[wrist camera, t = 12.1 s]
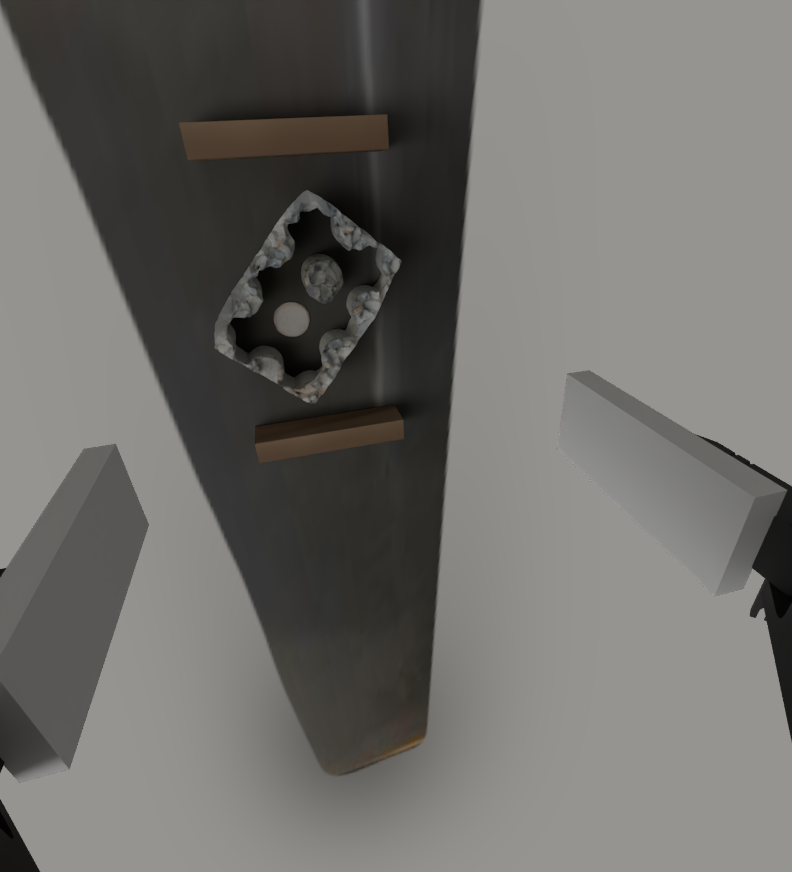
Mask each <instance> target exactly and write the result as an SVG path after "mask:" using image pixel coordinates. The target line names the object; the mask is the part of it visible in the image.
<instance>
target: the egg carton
mask: <svg viewBox="0 0 792 872" xmlns="http://www.w3.org/2000/svg"><path fill="white" fill-rule="evenodd" d="M315 208H318V209H319V210H320V211H321V212H322V213H323V214H324V215H326V216H328V217H331V223H330V224H331V231H332V234H333V236H334V237H335V239H336V240H337V241H338V242H339V243H340V244H341V245H342V246H343V247H344V248H346V249H347V250H349V251H350V250H351V249H357V250H362V249H364V248H365V247H366V246H368V245H370V246H372V247H374V248H377V247H378V248H377V252H376V264H377V267H378V269H379V270H380V272H381V276H380V278H379V280H378V281H377V283H376V284H375V285H374V286H373V287H371V286H368V285H361V286H357V287H355V288H354V289H353V290H352V291H351V292H350V293H349V295H348V298H347V309H348V311H349V313H350V315H351V319H350V321H349V323H348V326H347V328H346V330H345V331H344V330H342V329H333V330H330V331H328V332H326V333H325V334H324V335H323V336H322V338H321V340H320V344H319V349H320V353H321V356H322V358H321V361H322V366H321V368H320V369H319V370H317V371H313V370H308V371H304V372H302V373H300V374H299V375H297V376H296V377H291V376H290V375H288V374H286V373H284V363H283V357H282V355H281V354H280V352H279V351H278V350H276V349H275V348H273V347H269V346H259V347H256V348H255V349H253V350H252V351H251V352H250V353H247V352H245V351H244V350H242V349H241V348H239V347H238V346H237V345H236V333H235V330H234V328H233V327H232V326H231V325H230V324H229V323H230V322H231V320H232V319H233V318H238V317H239V318H246V317H251V316H252V315H254V314H255V313H256V312H257V311H258V310H259V308H260V306H261V304H262V302H264V301H263V297H262V287H261V284H260V282H259V280H258V279H257V278H256V276H258V272H259V270H264V269H265V268H266V267H274V268H279V267H281V266H282V265H283V264H284V263H285V262H286V261H288V260H289V259H290V258H292V256H293V253H294V250H295V242H294V239H293V238H292V236H291V235H290V233H289V231H288V228H287V226H288V224H292V223H297V222H298V221H299V219H300V216H299V214H300V212H309V211H312V210H314V209H315ZM337 263H338V262H337ZM337 263H336V262H335V260H334V259H332V258H331V257H329V256H327V255H324V254H314V255H311V256H309V257H308V258H306V260H305V261H304V262H303V264H302V268H301V277H302V281H303V284H304V286H305V288H306V291H307V292H308V294H309V295H310V296H311V297H312V298H314V299H316V300H317V301H319V302H321V303H323V304H328V303H330V302H332V301H333V300H334V297H335V295H336V294H337V293H338V291H339V290H340V289H341V288H342V285H343V276H342V272H341V269H340V267H339V266H338V265H337ZM400 264H401V260H400V259H399V258H397V257H396V256H395V255H394V254H393V253H392V252H391V251H390V250H389V249H388V248H386V247H385V246H384V245H382V244H381V243H378V242H377V241H375V240H374V239H373V238H372V237H371V236H370V235H369V234H368V233H367V232H366V231H364V230H363V229H361V228H359V227H358V226H357V225H356V224H355V223H354V222H352V221H351V220H350V219H348V218H347V217H346V216H344V215H343V214H342V213H341V212H340V211H339V210H338V209H337V208H336V207H334V206H333V205H332V204H330V203H329V202H327V201H325V200H324V199H322V198H321V197H319V196H317V195H315V194H313V193H312V192H310V191H308V190H306V191H304V192H303V193H302V194H301V195H300V196H299V197H298V198H297V199H296V200H295V201H294V202H293V203H292V204H291V205H290V207H288V209H287V210H286V212H285V213H284V214H283V216H282V217H281V218H280V219H279V221H278V222H277V224H276V225H275V227H274V228H273V230H272V232H271V234H270V235H269V236H268V237H267V239H266V240H265V242H264V244H263V247H262V248H261V250H260V251H259V253H258V254H257V255H256V256H255V258H254V259H253V260H252V262H251V264H250V266H249V267H248V269H247V270H246V272H245V273H244V275H243V276H242V278H241V279H240V281H239V282H238V284H237V285H236V287H235V288H234V289H233V291H232V292H231V294H230V296H229V297H228V299H227V301H226V303H225V305H224V307H223V309H222V311H221V312H220V314H219V317H218V319H217V321H216V324H215V330H214V331H215V349H216V350H218V351H219V352H221V353H223V354H224V355H226V356H227V357H229V358H231V359H232V360H235V361H237V362H239V363H241V364H242V365H244V366H246V367H247V368H249V369H250V370H252V371H254V372H255V373H258V374H261V375H263V376H265V377H266V378H268V379H270V380H272V381H273V382H275V383H277V384H278V385H279V386H281V387H282V388H284V389H285V390H287V391H288V392H290V393H291V394H293V395H295V396H297V397H299V398H301V399H302V400H304V401H305V402H307V403H309V404H310V405H314V404H315V403H316V402H317V400H318V399H319V397H320V396H322V395H323V393H324V392H325V391H326V389H327V387H328V386H329V384H330V383H331V382H332V381H333V379H334V378H335V376H336V375H337V373H338V371H339V370H340V369H341V366H342V363H343V362H344V360H345V359H346V357H347V356H348V355H349V354H350V352H351V351H352V350H353V349H354V348H355V346H356V345H357V342H358V340H359V339H360V338H361V336H362V335H363V334H364V332H365V331H366V329H367V328H368V326H369V325H370V324H371V322H372V321H373V320H374V319H375V317H376V315H377V313H378V311H379V308H380V306H381V304H382V302H383V300H384V297H385V295H386V292H387V290H388V289H389V286H390V284H391V281H392V278H393V276H394V274H395V273H396V272H397V271H398V269H399V267H400ZM259 265H260V268H259V269H258V266H259ZM340 265H341V264H340ZM274 323H275V326H276V329H277V330H278V331H279V332H280V333H282V334H283V335H285V336H291V337H296V336H299V335H301V334H303V333H304V332H305V331H306V330H307V328H308V326H309V323H310V317H309V313H308V311H307V309H306V308H305V307H304V306H303V305H302V304H300V303H297V302H286V303H283V304H282V305H280V306H279V307H278V308H277V309H276V311H275V314H274Z"/></svg>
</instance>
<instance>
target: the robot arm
mask: <svg viewBox="0 0 792 872" xmlns="http://www.w3.org/2000/svg"><path fill="white" fill-rule="evenodd" d="M557 449H558V450H559V451H560V452H561V453H562V454H563V455H564V456H565V457H566V458H567V459H568V460H570V461H571V462H572V463H573V464H574V465H575V466H576V467H577V468H578V469H579V470H580V471H581V472H582V473H583V474H585V476H587V477H588V478H589V479H590V480H591V481H592V482H593V483H594V484H595V485H596V486H597V487H598V488H599V489H600V490H601V491H603V492H604V493H605V494H606V495H607V496H608V497H609V498H610V499H611V500H612V501H613V502H614V503H615V504H616V505H617V506H619V507H620V508H621V509H622V510H623V511H624V512H625V513H626V514H627V515H628V516H629V517H630V518H631V519H632V520H633V521H635V522H636V523H637V524H638V525H639V526H640V527H641V528H642V529H643V530H644V531H645V532H646V533H647V534H648V535H650V536H651V537H652V538H653V539H654V540H655V541H656V542H657V543H658V544H659V545H660V546H661V547H662V548H663V549H665V550H666V551H667V552H668V553H669V554H670V555H671V556H672V557H673V558H674V559H675V560H676V561H677V562H678V563H680V565H681V566H683V567H684V568H685V569H686V570H687V571H688V572H689V573H690V574H691V575H692V576H693V577H694V578H695V579H696V580H697V581H699V582H700V583H701V584H702V585H703V586H704V587H705V588H706V589H707V590H708V591H709V592H710V593H711V594H713V596H718V595H722V594H726V593H729V592H733V591H737V590H741V589H743V588H744V586H745V584H746V582H747V579H748V577H749V575H750V573H751V570H752V568H753V569H754V570H756V571H757V572H758V573H759V574H761V575H762V576H763V577H764V578H765V580H764V582H763V584H762V587H761V589H760V591H759V593H758V595H757V597H756V599H755V601H754V604H753V606H752V608H751V611H750V616H751V617H754V618H756V616H757V614H758V612H759V610H760V609H762V608H764V610H765V615H766V617H765V619H764V620H765V621H767V625H768V629H769V634H770V639H771V644H772V649H773V654H774V658H775V663H776V668H777V673H778V677H779V682H780V687H781V692H782V697H783V702H784V707H785V711H786V716H787V721H788V726H789V730H790V735H791V740H792V487H791V486H790V485H789V484H787V483H785V482H783V481H782V480H780V479H778V478H777V477H775V476H773V475H772V474H770V473H768V472H767V471H765V470H763V469H761V468H760V467H758V466H756V465H755V464H750V461H748V460H746V459H745V458H743V457H741V456H739V455H735V453H734V452H732V451H731V450H729V449H728V448H726V447H724V446H723V445H721V444H719V443H718V442H715V441H712V440H710V439H707V438H704V437H701V436H698V435H696V434H694V433H692V432H690V431H688V430H686V429H685V428H684V427H682V426H680V425H679V424H677V423H675V422H674V421H672V420H670V419H669V418H667V417H665V416H664V415H662V414H660V413H659V412H657V411H655V410H654V409H652V408H651V407H649V406H647V405H645V404H644V403H642V402H640V401H639V400H637V399H636V398H634V397H632V396H631V395H629V394H627V393H626V392H624V391H622V390H621V389H619V388H617V387H616V386H614V385H612V384H611V383H609V382H607V381H606V380H604V379H602V378H601V377H599V376H598V375H596V374H594V373H593V372H591V371H589V370H588V371H582V372H575V373H569V374H567V379H566V386H565V394H564V401H563V409H562V415H561V423H560V430H559V437H558V445H557ZM148 525H149V524H148V522H147V519H146V517H145V514H144V512H143V510H142V507H141V505H140V502H139V500H138V497H137V495H136V493H135V490H134V487H133V485H132V483H131V480H130V478H129V475H128V473H127V470H126V468H125V465H124V463H123V461H122V458H121V456H120V453H119V451H118V449H117V446H116V444H113V445H106V446H100V447H93V448H87V449H84V450H83V451H82V453H81V454H80V456H79V457H78V459H77V460H76V462H75V463H74V465H73V466H72V468H71V469H70V471H69V473H68V474H67V476H66V478H65V479H64V480H63V482H62V483H61V485H60V487H59V488H58V489H57V491H56V493H55V494H54V496H53V497H52V499H51V500H50V502H49V503H48V505H47V506H46V508H45V509H44V511H43V513H42V514H41V516H40V517H39V519H38V520H37V522H36V523H35V525H34V526H33V528H32V529H31V531H30V533H29V534H28V536H27V537H26V539H25V540H24V542H23V543H22V545H21V547H20V548H19V550H18V551H17V553H16V554H15V556H14V557H13V559H12V560H11V562H10V563H9V565H8V566H7V568H4V569H0V772H1V770H2V767H3V765H4V766H5V767H6V768H7V769H8V771H9V772H10V773H11V774H12V775H13V776H14V777H15V778H16V779H17V780H18V781H19V782H20V783H21V782H25V781H28V780H32V779H36V778H40V777H43V776H47V775H51V774H55V773H58V772H62V771H66V770H69V769H70V766H71V763H72V760H73V757H74V754H75V751H76V748H77V745H78V741H79V738H80V735H81V732H82V729H83V726H84V723H85V720H86V717H87V713H88V710H89V708H90V704H91V701H92V698H93V695H94V692H95V689H96V686H97V683H98V680H99V677H100V673H101V670H102V668H103V664H104V661H105V658H106V655H107V652H108V649H109V646H110V643H111V640H112V637H113V634H114V631H115V628H116V624H117V621H118V618H119V615H120V612H121V609H122V606H123V603H124V600H125V596H126V594H127V591H128V587H129V584H130V581H131V578H132V575H133V572H134V569H135V566H136V563H137V560H138V557H139V554H140V550H141V547H142V544H143V541H144V538H145V535H146V532H147V529H148ZM0 872H40V871H39V869H38V867H37V865H36V864H35V862H34V860H33V858H32V856H31V854H30V852H29V851H28V849H27V847H26V845H25V843H24V842H23V840H22V838H21V836H20V834H19V832H18V831H17V829H16V827H15V825H14V823H13V822H12V820H11V818H10V816H9V814H8V813H7V811H6V809H5V807H4V805H3V804H2V801H1V800H0Z"/></svg>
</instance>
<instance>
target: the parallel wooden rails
mask: <svg viewBox="0 0 792 872" xmlns="http://www.w3.org/2000/svg"><path fill="white" fill-rule="evenodd" d="M179 125H180V129H181V133H182V138H183V142H184V146H185V150H186V154H187V159H188V160H190V161H208V160H226V159H244V158H262V157H280V156H298V155H316V154H334V153H352V152H370V151H382V150H386V149H389V139H388V120H387V114H382V115H358V116H333V117H309V118H284V119H260V120H235V121H211V122H186V123H179ZM398 439H404V427H403V419H402V417H401V415H400V413H399V412H398V410H397V408H396V406H395V405H390V406H384V407H377V408H371V409H364V410H358V411H352V412H345V413H339V414H333V415H326V416H320V417H314V418H307V419H301V420H295V421H288V422H282V423H276V424H269V425H263V426H257V427H255V446H256V451H257V455H258V459H259V463H265V462H270V461H276V460H282V459H288V458H294V457H299V456H305V455H311V454H317V453H323V452H329V451H334V450H340V449H346V448H352V447H358V446H364V445H369V444H375V443H381V442H387V441H393V440H398Z"/></svg>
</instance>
